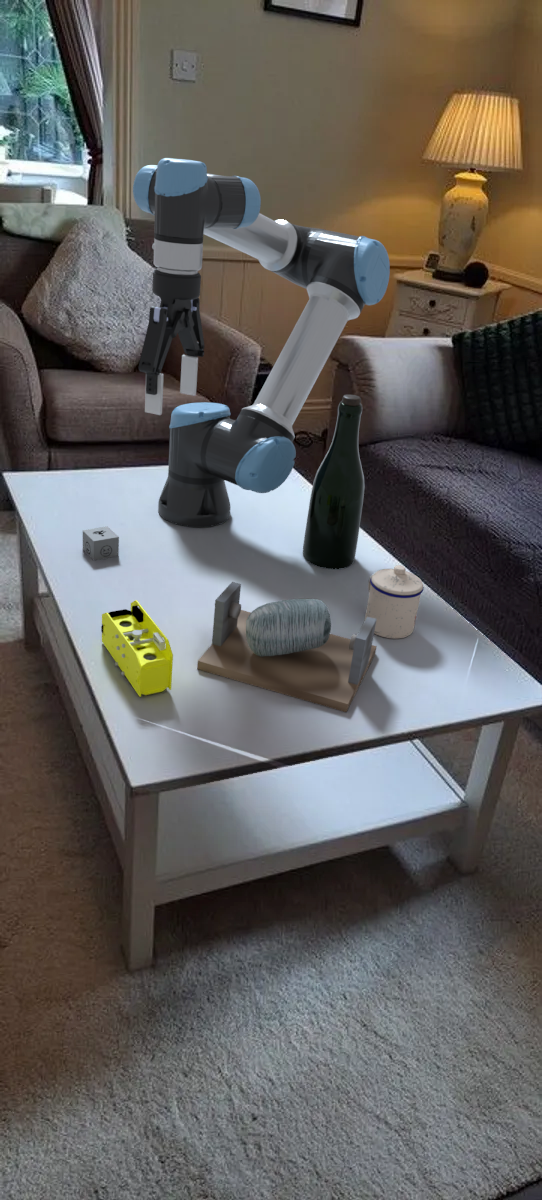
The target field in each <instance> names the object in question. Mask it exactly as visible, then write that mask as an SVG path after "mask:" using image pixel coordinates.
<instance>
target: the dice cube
mask: <svg viewBox="0 0 542 1200" xmlns="http://www.w3.org/2000/svg"><path fill="white" fill-rule="evenodd" d="M119 543H120V537H119V535H117V533H115V532H114V531H113V530H112V529H111V528H110V527H109V526H102V527H95V528H90V529H88V528H87V529H84V530H83V529H82V550H83V551H84V552H85V553H86V554H87V555H88V556H89V558H90V559H92V560H93V561H98V560H99V561H100V560H105V559H110V558H116V557H119V556H120V555H119V552H120V551H119V550H120V548H119V547H120V546H119V545H120V544H119Z"/></svg>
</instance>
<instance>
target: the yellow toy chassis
mask: <svg viewBox="0 0 542 1200" xmlns="http://www.w3.org/2000/svg"><path fill="white" fill-rule="evenodd" d="M100 627H101V630H100V631H101V642H102V644H103V645H104V646H105V648H106V649H107V651H108V653H109V655H110V656H111V657H112V658H113V660H114V661H115V662H114V665H115V667H117V666H118V667H119V669H120V670H121V673H120V674H121V676H125V677H126V678H125V679H127V680H128V682H129V683H130V685H131V686H132V688H133V689H134V691H135V693H136V694H137V695H138V696H139V697H142V695H144V696H147V695H152V694H157V693H162V692H163V691H165V690H166V689H168V690H170V691H171V690H172V684H173V683H172V680H173V662H174V654H173V651H172V647H171V643H170V640H169V639H168V638H167V636H166V635H165V633H164V632H163V631H162V630H161V629H160V628H159V626H158V625H157V624H156V622H155V621H154V620H153V618H151V616H150V615H149V614H148V612H147V611H146V610H145V609H144V608H143V606H142V605H141V604H140V602H139V601H138V600H137V599H135V600H134V601H132V602H130V610H129V609H126V608H123V609H119V610H114V611H113V610H112V611H109V612H105V613H101V626H100Z"/></svg>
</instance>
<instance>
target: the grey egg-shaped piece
mask: <svg viewBox="0 0 542 1200" xmlns="http://www.w3.org/2000/svg"><path fill="white" fill-rule="evenodd" d="M250 612H251V613H250V615H249V616H248V618H247V620H246V638H247V643H248V646H249V648H250V649H251V650H252V652H253V653H254V654H256V655H258V656H261V657H263V656H275V655H283V654H289V653H294V652H300V651H304V650H309V649H313V648H318V647H320V646H322V645H324V644H325V643H326V642H327V640H328V639H329V636H330V634H331V631H332V619H331V612H330V609H329V607H328V606H327V605H326V603H324V602H323V601H322V600H321V599H318V598H294V599H292V598H291V599H285V600H277V601H273V602H269V603H266V604H262V605H259V606H257V607H256V608H255V609H254V610H251V611H250Z"/></svg>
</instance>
